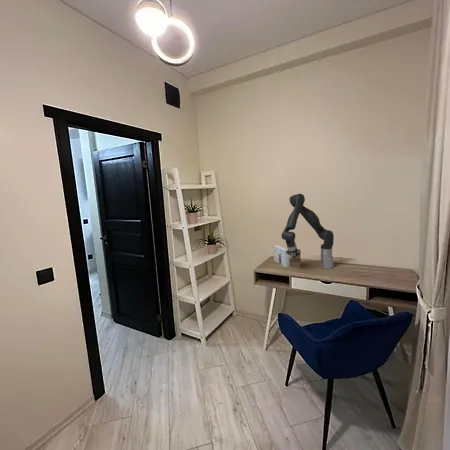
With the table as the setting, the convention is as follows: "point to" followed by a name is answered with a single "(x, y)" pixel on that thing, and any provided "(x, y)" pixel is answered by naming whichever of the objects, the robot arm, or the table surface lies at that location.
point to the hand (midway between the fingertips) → (294, 257)
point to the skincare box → (281, 256)
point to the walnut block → (296, 261)
